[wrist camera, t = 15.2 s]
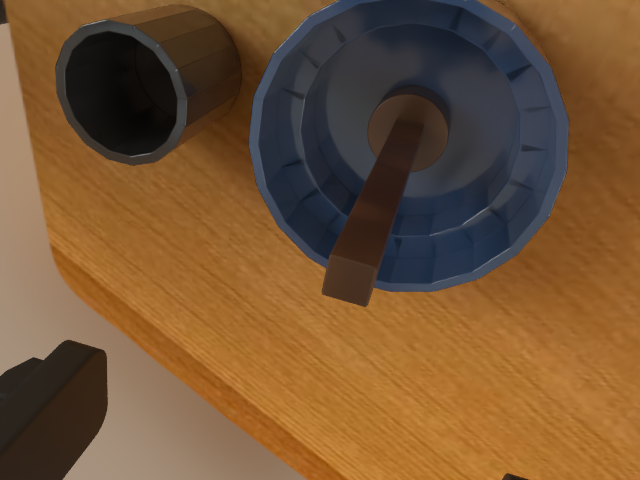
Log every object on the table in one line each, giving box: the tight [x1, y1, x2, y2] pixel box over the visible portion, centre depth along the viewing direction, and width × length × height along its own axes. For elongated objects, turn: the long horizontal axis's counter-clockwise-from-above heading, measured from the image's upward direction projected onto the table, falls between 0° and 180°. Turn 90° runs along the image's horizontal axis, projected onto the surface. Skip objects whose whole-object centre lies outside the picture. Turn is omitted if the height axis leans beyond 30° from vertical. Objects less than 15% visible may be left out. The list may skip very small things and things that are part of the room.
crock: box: [55, 5, 241, 166], centre depth 30 cm, size 7×7×7 cm
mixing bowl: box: [248, 0, 569, 292], centre depth 29 cm, size 14×14×6 cm
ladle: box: [322, 85, 450, 307], centre depth 24 cm, size 4×4×16 cm
